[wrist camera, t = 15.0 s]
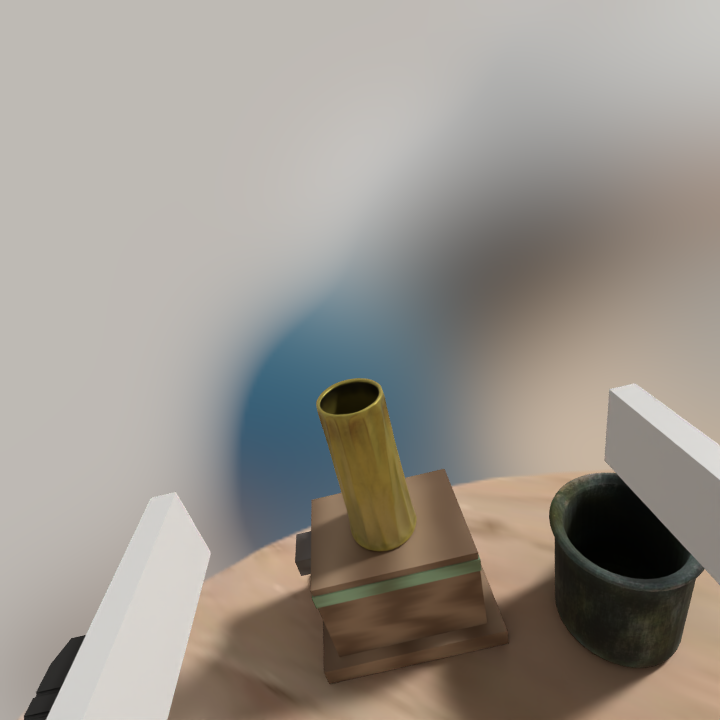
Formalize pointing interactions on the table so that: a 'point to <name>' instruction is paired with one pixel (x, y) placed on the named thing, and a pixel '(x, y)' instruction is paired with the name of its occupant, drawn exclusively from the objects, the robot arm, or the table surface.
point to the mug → (619, 572)
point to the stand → (398, 587)
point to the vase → (367, 463)
